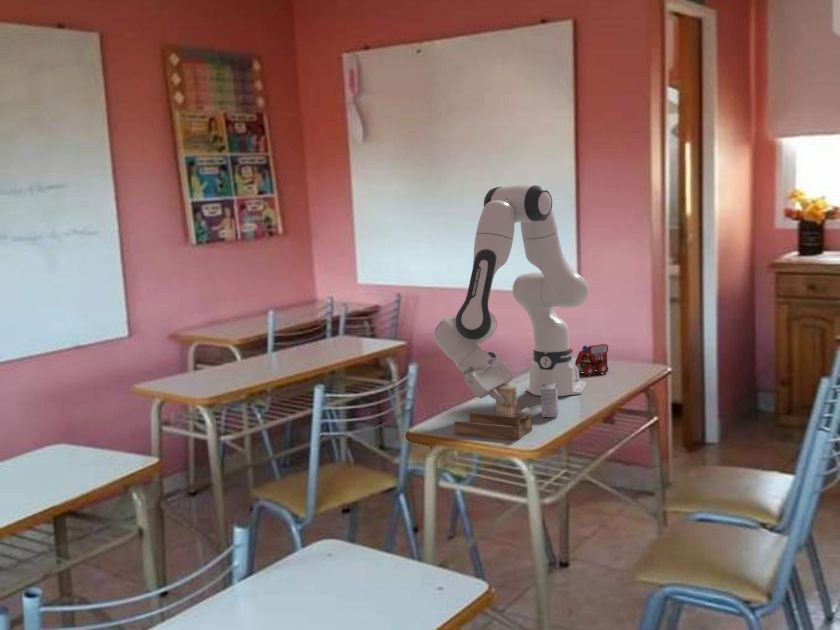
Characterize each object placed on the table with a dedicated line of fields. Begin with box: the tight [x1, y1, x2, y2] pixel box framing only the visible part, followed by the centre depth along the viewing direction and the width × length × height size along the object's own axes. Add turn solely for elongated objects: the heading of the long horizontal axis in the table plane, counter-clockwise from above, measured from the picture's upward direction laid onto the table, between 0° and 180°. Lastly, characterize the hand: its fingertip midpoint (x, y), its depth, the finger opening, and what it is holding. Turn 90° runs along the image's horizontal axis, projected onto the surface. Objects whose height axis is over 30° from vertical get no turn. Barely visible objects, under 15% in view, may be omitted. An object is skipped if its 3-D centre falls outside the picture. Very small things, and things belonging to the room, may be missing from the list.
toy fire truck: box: [574, 343, 609, 376], centre depth 323 cm, size 7×12×10 cm, turn 106°
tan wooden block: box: [495, 385, 518, 417], centre depth 265 cm, size 4×4×10 cm
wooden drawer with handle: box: [453, 407, 533, 441], centre depth 254 cm, size 10×19×7 cm, turn 62°
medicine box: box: [540, 383, 559, 419], centre depth 270 cm, size 8×4×9 cm, turn 168°
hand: (508, 399), depth 264 cm, fingers closed on tan wooden block, 4 cm apart
